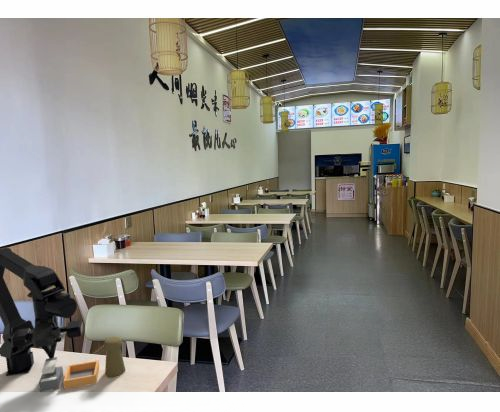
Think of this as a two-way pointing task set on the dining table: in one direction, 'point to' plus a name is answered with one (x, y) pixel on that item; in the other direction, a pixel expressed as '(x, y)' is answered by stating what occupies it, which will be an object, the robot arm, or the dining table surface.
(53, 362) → the breaker rocker
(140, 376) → the dining table surface
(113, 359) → the olive vase
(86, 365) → the orange square tray
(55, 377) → the breaker box
